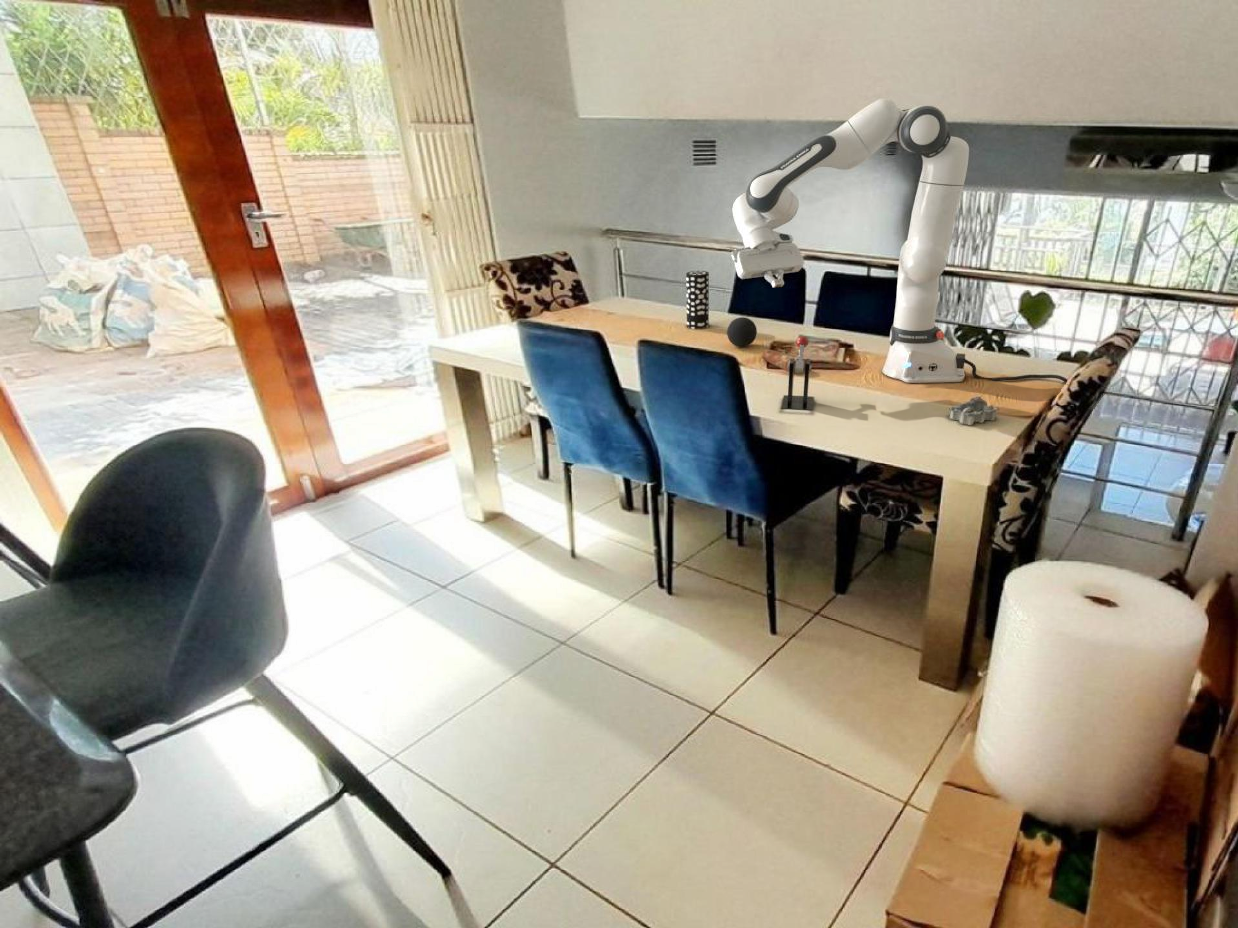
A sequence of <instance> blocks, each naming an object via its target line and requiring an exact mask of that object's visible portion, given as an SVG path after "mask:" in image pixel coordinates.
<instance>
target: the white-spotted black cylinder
mask: <svg viewBox="0 0 1238 928" xmlns="http://www.w3.org/2000/svg"><path fill="white" fill-rule="evenodd" d="M685 275H686V276H685V277H686V278H685V279H686V283H685V284H686V285H685V286H686V327H687V328H688V329H693V330H701V329H706V328H709V326H710V325H709V321H710V315H709V313H710V312H709V311H710V310H709V309H710V307H709V305H710V302H709V301H710V297H709V296H710V293H709V292H710V289H709V288H710V272H709V271H707V270H693V271H688V272H686V273H685Z"/></svg>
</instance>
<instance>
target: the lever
mask: <svg viewBox="0 0 1238 928" xmlns="http://www.w3.org/2000/svg"><path fill="white" fill-rule="evenodd" d="M809 341H810V340H809V338H808V337H807V336H804V335H802V336H799V337H798V338H797V339H796V346H797V347H798V348H799V349H798V357H799V358H798V361H797V360H796V363H795V374H794V375H804V374H805V370H804V361H803V359H804V351H805V348H807V347H808V346H809Z"/></svg>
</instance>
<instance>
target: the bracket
mask: <svg viewBox="0 0 1238 928" xmlns="http://www.w3.org/2000/svg"><path fill="white" fill-rule="evenodd" d="M805 360H806V364H805V370H804V378H803V379H804V381H803V384H804V385H803V395H793V394H794V377H795V374H794V361H795V358H791V360H790V364H788V370H789V372H788V386H787V395H786V394H784V395H783V397H782V401H781V406H780V410H791V411H793V410H795V411H810V412H811V411H813V405H814V399H815V398H814V396H811V395H809V383H810V382H809V381H810V372H811V371H812V367H813V365H812V364H811V358H806V359H805Z"/></svg>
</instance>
